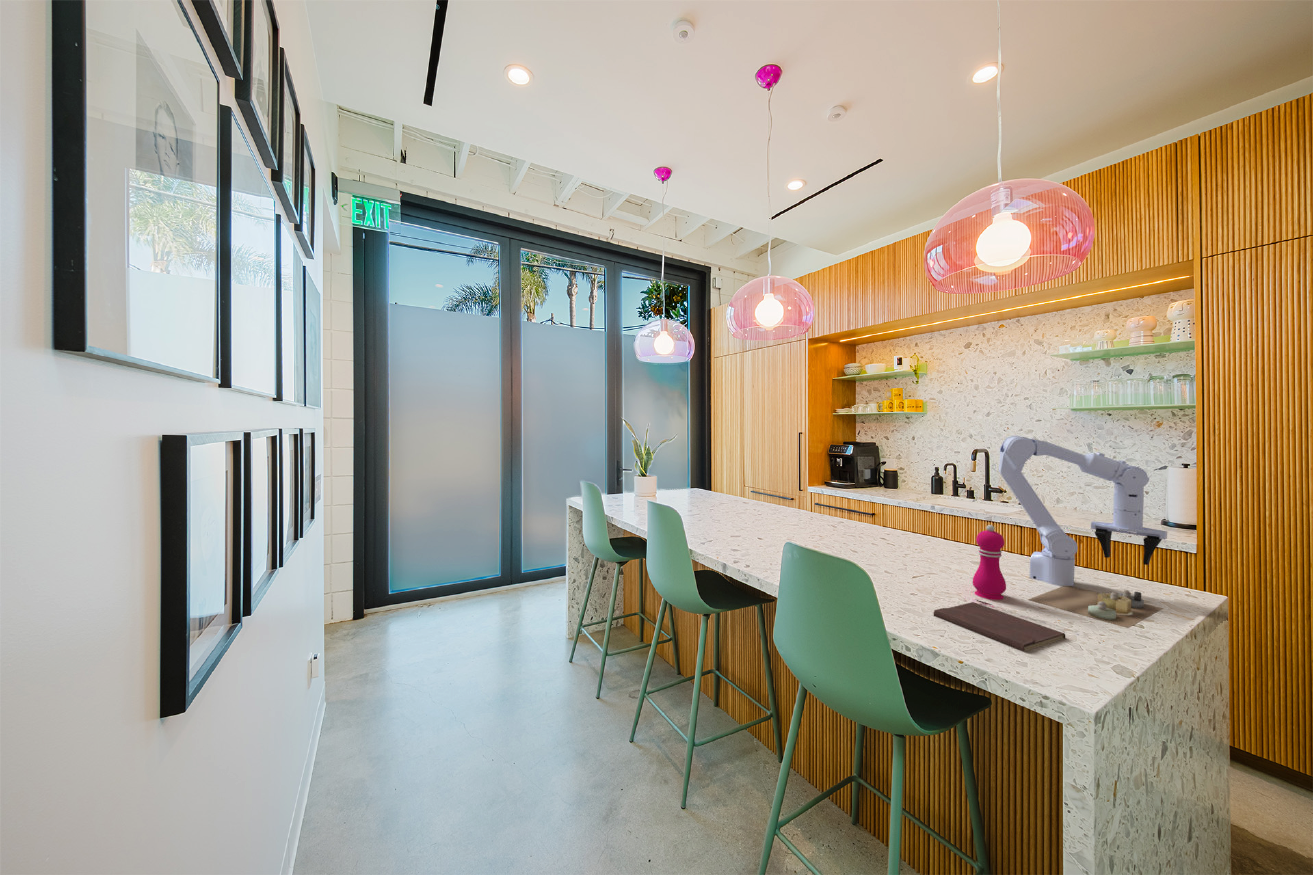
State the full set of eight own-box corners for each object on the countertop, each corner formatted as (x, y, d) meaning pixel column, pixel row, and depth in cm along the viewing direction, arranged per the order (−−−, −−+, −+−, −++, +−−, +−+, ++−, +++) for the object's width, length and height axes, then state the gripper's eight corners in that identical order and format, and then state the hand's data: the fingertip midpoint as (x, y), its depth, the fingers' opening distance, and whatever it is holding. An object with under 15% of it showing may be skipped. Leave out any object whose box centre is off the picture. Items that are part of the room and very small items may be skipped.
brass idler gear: (1094, 607, 116) (1095, 595, 116) (1104, 603, 119) (1104, 591, 119) (1124, 615, 112) (1124, 603, 112) (1133, 611, 114) (1133, 598, 114)
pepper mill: (1011, 607, 121) (1013, 528, 120) (979, 605, 123) (981, 527, 122) (997, 596, 128) (999, 522, 127) (967, 594, 130) (968, 521, 129)
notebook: (973, 607, 122) (974, 600, 122) (1065, 640, 104) (1065, 631, 104) (933, 617, 116) (933, 609, 116) (1023, 654, 98) (1023, 644, 98)
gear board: (1027, 605, 122) (1027, 583, 122) (1066, 590, 133) (1066, 569, 133) (1127, 634, 106) (1128, 608, 105) (1163, 614, 116) (1163, 591, 116)
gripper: (1087, 507, 132) (1086, 556, 133) (1162, 516, 120) (1160, 570, 120) (1096, 504, 136) (1094, 552, 136) (1170, 513, 124) (1168, 565, 124)
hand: (1126, 560), depth 129 cm, fingers open, 7 cm apart
